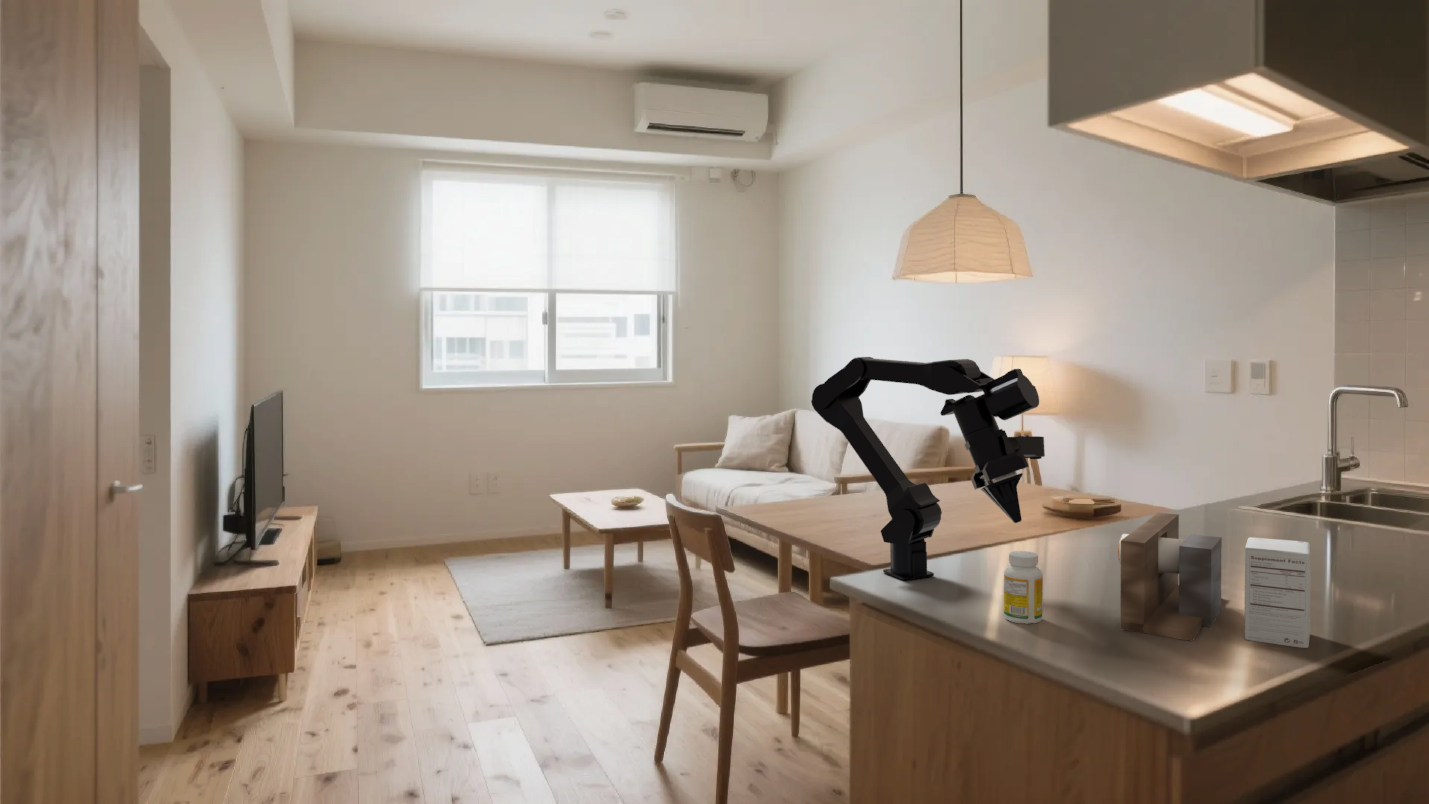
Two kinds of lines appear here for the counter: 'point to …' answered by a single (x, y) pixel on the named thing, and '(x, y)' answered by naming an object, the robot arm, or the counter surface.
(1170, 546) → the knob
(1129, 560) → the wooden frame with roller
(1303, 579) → the supplement box
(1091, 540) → the counter surface
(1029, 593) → the supplement bottle
